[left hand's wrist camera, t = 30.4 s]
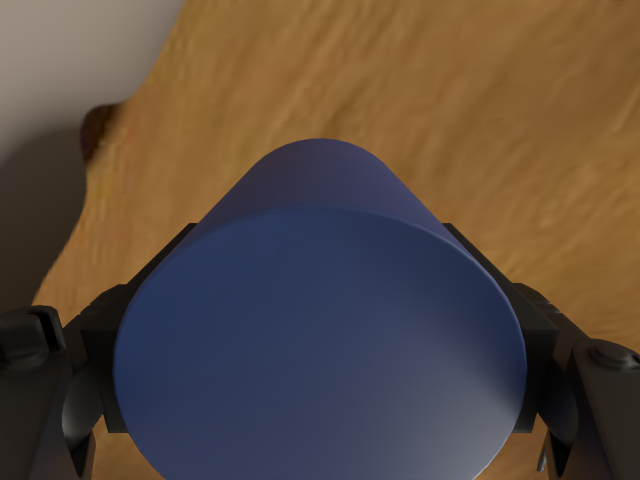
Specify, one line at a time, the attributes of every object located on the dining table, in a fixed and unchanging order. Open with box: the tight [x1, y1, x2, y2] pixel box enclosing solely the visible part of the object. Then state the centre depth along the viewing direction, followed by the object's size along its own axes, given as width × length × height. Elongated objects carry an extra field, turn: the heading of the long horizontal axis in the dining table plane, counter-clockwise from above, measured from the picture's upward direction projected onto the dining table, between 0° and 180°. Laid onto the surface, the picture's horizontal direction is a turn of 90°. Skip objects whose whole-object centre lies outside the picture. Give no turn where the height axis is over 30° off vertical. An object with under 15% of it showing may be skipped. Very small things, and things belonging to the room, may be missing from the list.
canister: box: [112, 139, 527, 480], centre depth 12 cm, size 8×8×10 cm
